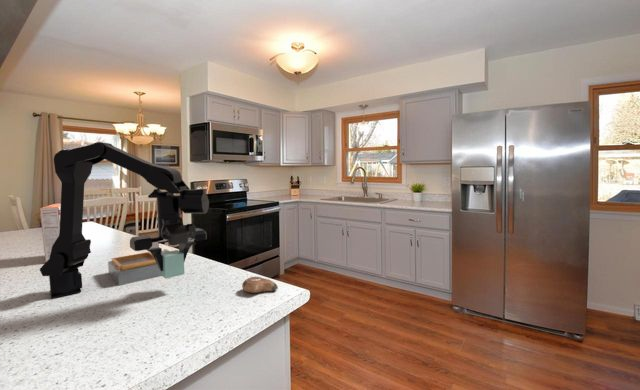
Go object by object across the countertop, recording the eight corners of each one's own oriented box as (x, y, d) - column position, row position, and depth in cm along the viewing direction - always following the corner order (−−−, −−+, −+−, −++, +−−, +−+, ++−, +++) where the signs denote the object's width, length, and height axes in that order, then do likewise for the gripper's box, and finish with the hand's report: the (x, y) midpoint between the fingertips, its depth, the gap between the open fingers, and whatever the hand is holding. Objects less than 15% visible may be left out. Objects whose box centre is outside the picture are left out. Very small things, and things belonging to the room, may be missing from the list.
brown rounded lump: (258, 302, 82) (280, 293, 88) (260, 288, 81) (281, 280, 88) (237, 290, 87) (258, 282, 94) (238, 277, 87) (259, 270, 93)
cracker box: (56, 254, 127) (52, 203, 125) (74, 252, 130) (71, 202, 128) (43, 263, 114) (38, 207, 113) (64, 261, 117) (59, 206, 115)
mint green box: (165, 278, 84) (164, 256, 84) (157, 272, 90) (155, 251, 89) (184, 274, 88) (183, 253, 87) (175, 268, 93) (174, 248, 92)
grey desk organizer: (118, 285, 92) (117, 268, 92) (108, 273, 103) (107, 258, 103) (181, 271, 105) (180, 256, 104) (166, 261, 116) (165, 248, 115)
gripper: (139, 221, 74) (142, 285, 75) (214, 213, 87) (216, 267, 88) (127, 216, 82) (131, 274, 83) (197, 209, 95) (200, 259, 96)
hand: (171, 268), depth 88 cm, fingers closed on mint green box, 5 cm apart
